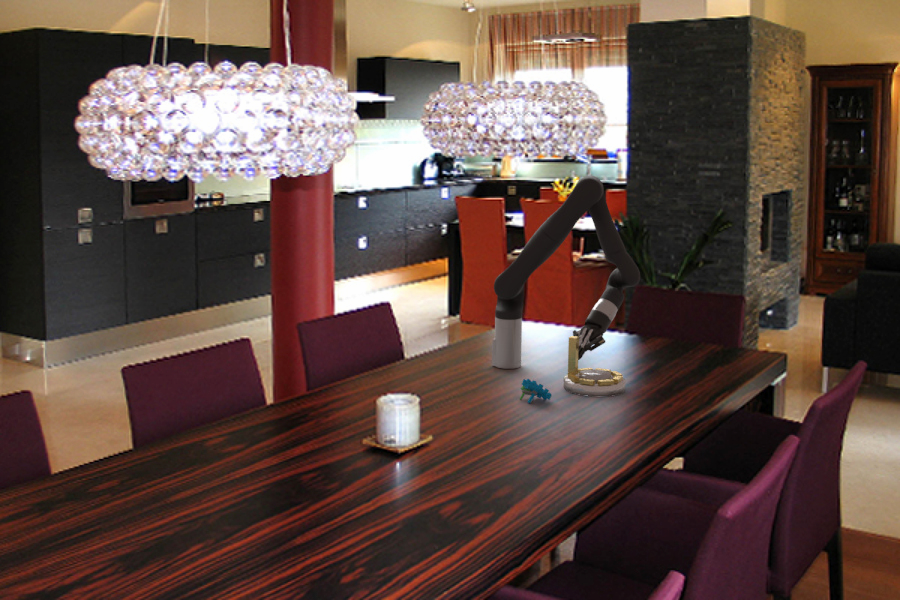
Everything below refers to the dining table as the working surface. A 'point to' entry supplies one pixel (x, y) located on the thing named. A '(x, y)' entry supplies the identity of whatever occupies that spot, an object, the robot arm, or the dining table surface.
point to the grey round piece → (594, 389)
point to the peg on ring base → (574, 370)
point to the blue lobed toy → (534, 390)
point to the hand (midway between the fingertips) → (575, 358)
